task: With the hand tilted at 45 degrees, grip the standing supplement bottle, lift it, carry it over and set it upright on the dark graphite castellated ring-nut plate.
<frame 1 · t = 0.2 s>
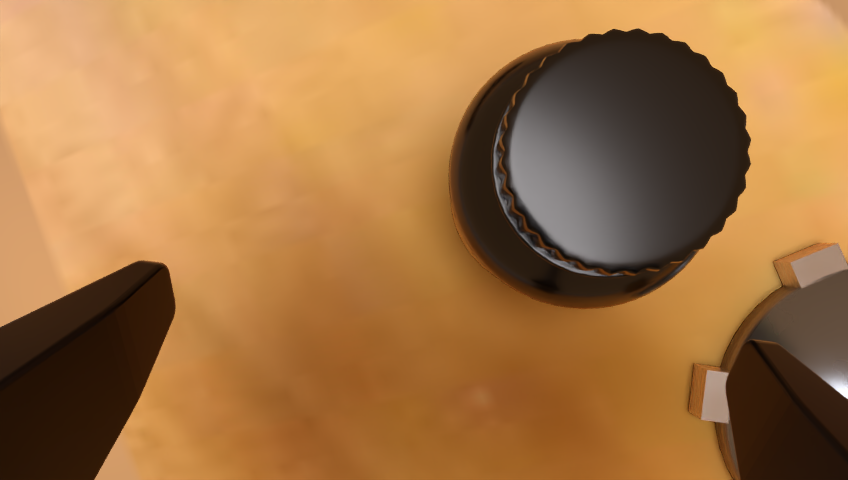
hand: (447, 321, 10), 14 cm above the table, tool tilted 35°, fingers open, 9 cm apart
supplement bottle: (538, 199, 24), on the table
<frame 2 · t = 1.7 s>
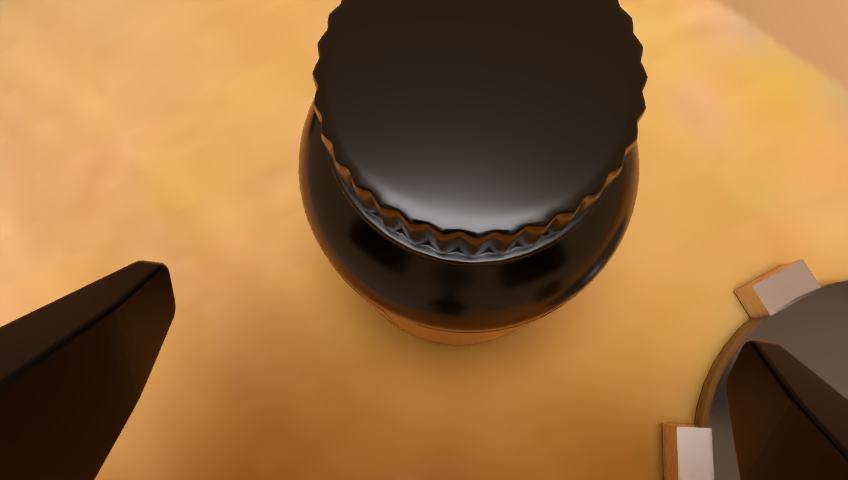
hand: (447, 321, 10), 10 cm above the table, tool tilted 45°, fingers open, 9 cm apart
supplement bottle: (456, 242, 21), on the table
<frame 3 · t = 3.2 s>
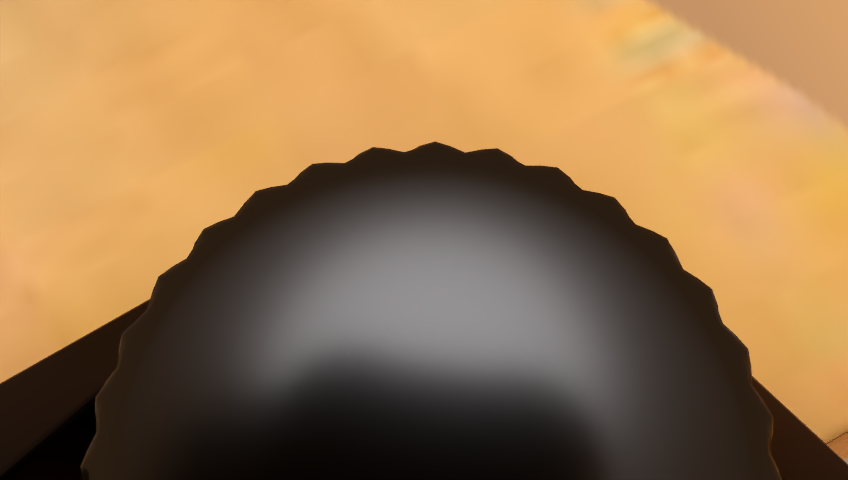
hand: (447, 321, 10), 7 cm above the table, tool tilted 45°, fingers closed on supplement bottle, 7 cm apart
supplement bottle: (436, 391, 16), on the table, touching gripper
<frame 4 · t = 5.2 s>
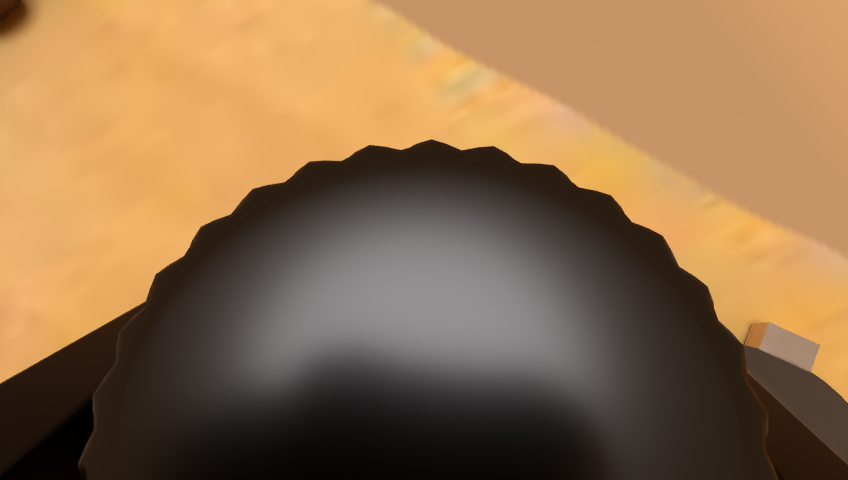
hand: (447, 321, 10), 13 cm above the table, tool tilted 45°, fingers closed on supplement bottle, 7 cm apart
supplement bottle: (435, 389, 16), point 6 cm above the table, touching gripper
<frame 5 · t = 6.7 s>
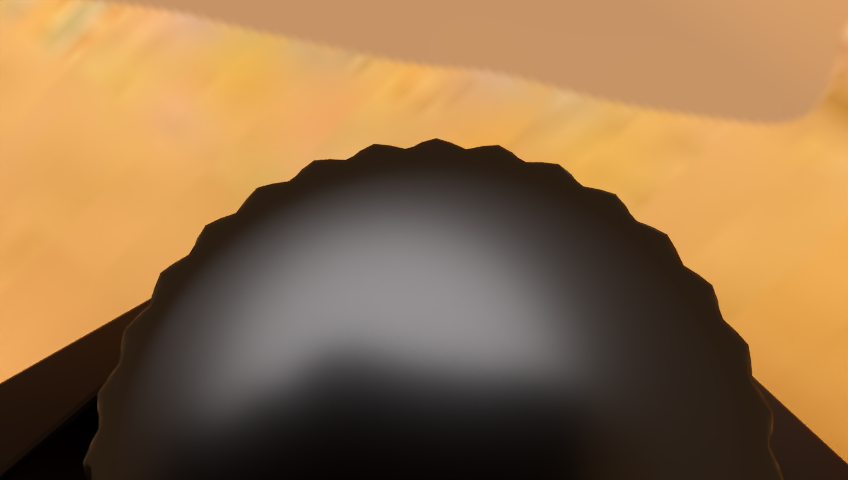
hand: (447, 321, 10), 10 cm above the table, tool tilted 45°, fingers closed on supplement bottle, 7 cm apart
supplement bottle: (436, 389, 16), point 3 cm above the table, touching gripper
when the fingers open (9 cm above the table, at t = 7.5 s): supplement bottle drops 1 cm, resting on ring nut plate.
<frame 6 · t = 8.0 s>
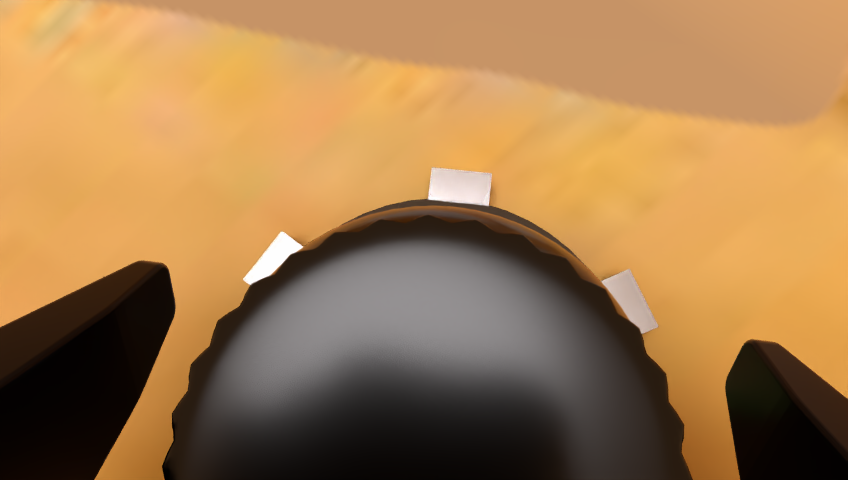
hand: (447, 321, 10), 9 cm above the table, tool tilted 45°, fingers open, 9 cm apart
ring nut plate: (438, 387, 18), on the table
supplement bottle: (436, 396, 17), point 1 cm above the table, touching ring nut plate
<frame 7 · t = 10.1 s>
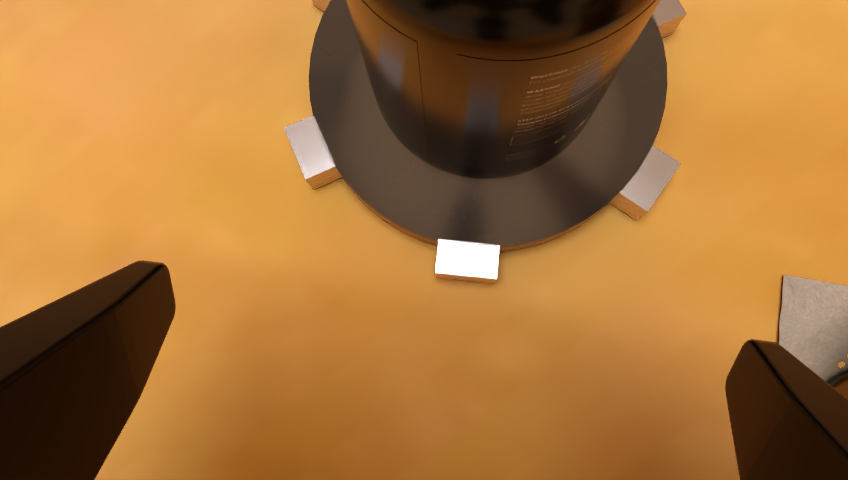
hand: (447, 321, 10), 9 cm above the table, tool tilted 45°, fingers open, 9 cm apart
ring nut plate: (483, 87, 20), on the table
supplement bottle: (484, 80, 19), point 1 cm above the table, touching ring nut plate
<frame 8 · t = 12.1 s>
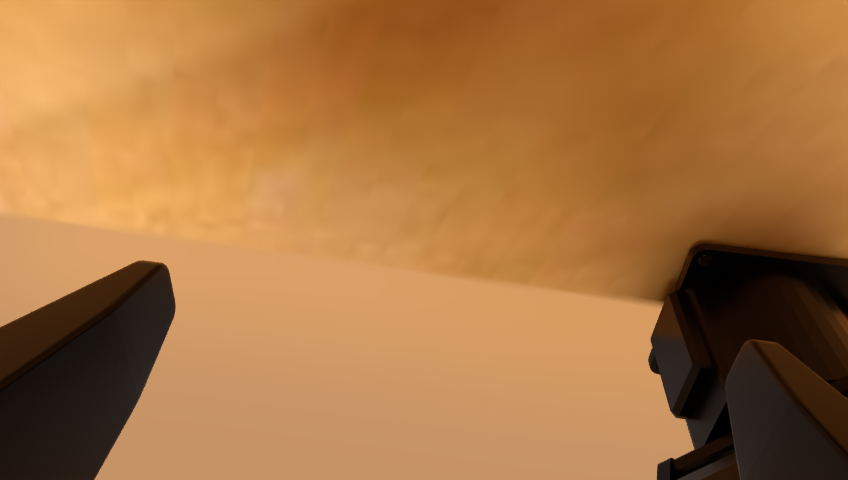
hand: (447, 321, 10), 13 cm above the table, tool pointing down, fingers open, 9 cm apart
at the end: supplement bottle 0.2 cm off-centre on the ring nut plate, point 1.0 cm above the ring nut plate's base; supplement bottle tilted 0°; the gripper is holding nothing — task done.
